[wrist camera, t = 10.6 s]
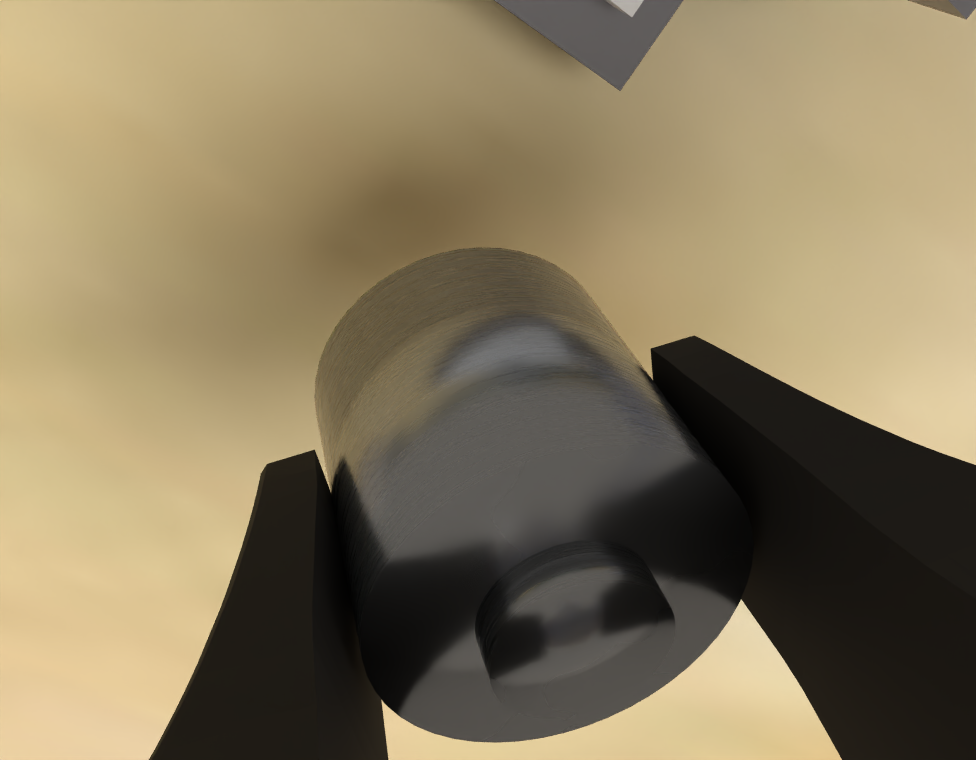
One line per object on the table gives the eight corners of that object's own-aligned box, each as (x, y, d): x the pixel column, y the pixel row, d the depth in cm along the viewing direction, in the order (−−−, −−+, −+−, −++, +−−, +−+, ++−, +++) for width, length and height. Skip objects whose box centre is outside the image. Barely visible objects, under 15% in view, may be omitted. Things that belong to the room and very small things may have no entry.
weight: (665, 326, 14) (860, 560, 10) (500, 533, 15) (610, 809, 11) (422, 190, 11) (545, 420, 7) (257, 447, 13) (286, 754, 9)
